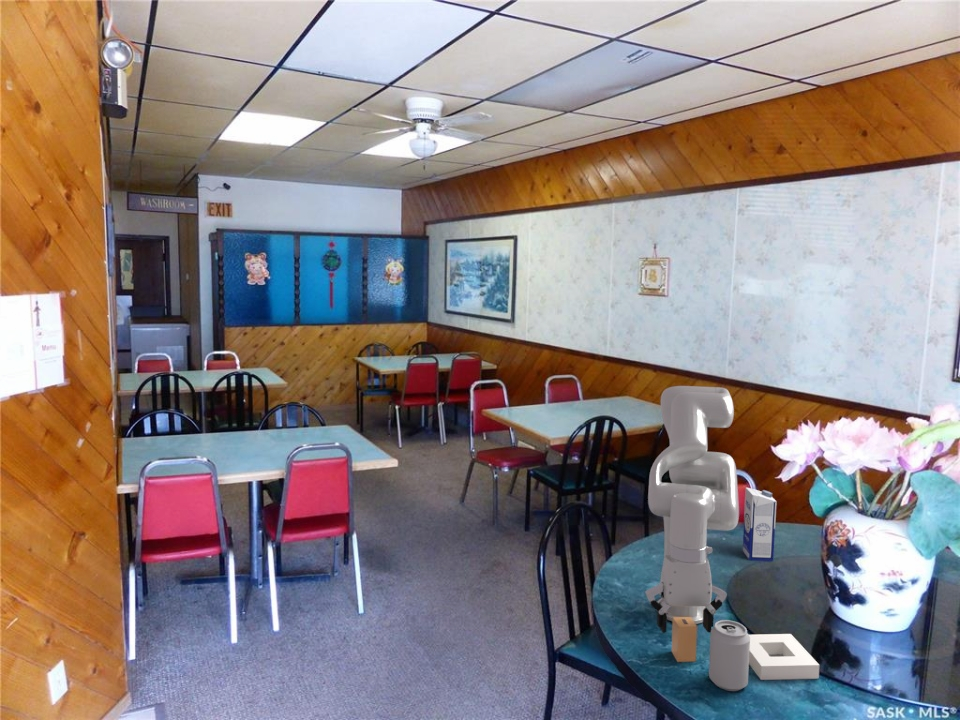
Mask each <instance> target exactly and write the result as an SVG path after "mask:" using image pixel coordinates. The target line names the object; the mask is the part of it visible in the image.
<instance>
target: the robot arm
mask: <svg viewBox="0 0 960 720" xmlns="http://www.w3.org/2000/svg"><path fill="white" fill-rule="evenodd" d="M734 408H735V407H734V402H733V399H732V396H731V394H730V392H729V390H728V389H727V388H725V387H721V386H720V387H719V386H699V385H698V386H696V385H692V386H691V385H677V386H675V385H674V386H670V387H667V388H665V389H664V390H663V392H662V393H661V396H660V412H661V413H660V414H661V417H662V421H663V426H664V428H665V430H666V432H667V436H668V439H669V446H668V447H666V448H665V449H664V450H663V451H661V453H660V454H659V455H658V456H657V457H656V458H655V460H654V462H653V463H652V466H651V467H650V472H649V478H648V495H647V499H648V500H647V504H648V508H649V510H650V513H652V514H653V515H655V516H657V517H663V527H664V529H663V531H664V532H663V533H664V534H663V535H664V541H663V542H664V544H663V545H664V546H663V547H664V548H663V551H664V552H663V562H662V567H661V573H660V582H659V584H656V585H655V586H653V587H650V588H648V589H647V590H645V592H644V593H645V597H646V598H647V600H648V602H649V604H650V605H651V606H652V608H653V609H654V610H655V611H656V625H657V628H659V629H660V630H661V632H662V634H666V632H667V627H668V626H667V622H668V621H670V622H671V623H673V617H691V618H692V619H693V621H694V622H695V624H696V625H698V624H701V623H702V627H703V628H704V630H705V631H706V632H707V633H711V629H712V628H713V627H714V615H715V614H716V613H717V611H718V610H719V609H720V608H721V607H722V606H723V602H725V600H726V598H727V596H728V593H727V592H726V591H725V590H724V589H722V588H720V587H718V586H717V585H714V584H713V583H712V573H711V566H710V562H709V558H708V555H709V554H713V552H714V550H713V547H712V546H708V545H707V541H708V540H707V537H708V536H707V535H708V530H716V531H731V530H734V529H736V527H737V525H738V523H739V519H740V518H739V517H740V506H739V505H740V504H739V491H738V489H739V488H738V474H737V473H738V471H737V466H736V465H737V464H736V463H735V460H734V459H733V457H732V456H731V455H730V454H727V453H724V452H719V451H718V452H717V451H708V428H719V429H720V428H721V429H726V428H727V429H728V428H729V427H731V425H732V423H733V420H734V416H735V414H734V413H735V412H734V411H735V410H734ZM667 472H668V473H669V478H670V481H671V482H662V477H663V476H664V474H665V473H667ZM713 594H716V597H715V598H714V599H712V598H713ZM657 595H659V596H660V598H659V599H658V600H656V599H655V596H657Z"/></svg>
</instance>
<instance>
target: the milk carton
mask: <svg viewBox="0 0 960 720" xmlns="http://www.w3.org/2000/svg"><path fill="white" fill-rule="evenodd" d="M744 492H745V495H744V513H743V514H744V515H743V517H744V518H743V533H742V534H743V535H742V552H743V554H744V555H745V556H746V558H747V559H748V561H754V562H774V555H775V535H776V533H775V532H776V518H777V500H776V499H775V498H774V497H773V492H770V491H768V490H765V489H762V491H760V490H759V489H758V490H757V489H755V488H750V487H746V486H745V491H744Z"/></svg>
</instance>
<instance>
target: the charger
mask: <svg viewBox="0 0 960 720" xmlns="http://www.w3.org/2000/svg"><path fill="white" fill-rule="evenodd" d="M671 625H672V629H671V653H672V655H673V657H674V658H675V660H676V662H677V663H680V662H681V663H686V662H687V663H688V662H689V663H690V662H691V663H692V662H695V663H696V661H697V660H696V659H697V641H698V624H695V622H694V621H693V619H692V618H691V617H673V622H672V624H671Z"/></svg>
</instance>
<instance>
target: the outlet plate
mask: <svg viewBox="0 0 960 720" xmlns="http://www.w3.org/2000/svg"><path fill="white" fill-rule="evenodd" d="M749 636H750V650H749V666H750V668H752V670H753V671H754V673H755V674H756V675H757V677H758V678H759V680H761V681H763V680H764V681H770V680H774V681H775V680H778V681H779V680H818V679H819V677H820V664H819V663H818V662H817V661H816V659H815V658H814V657H813V656H812V655H811V654H810V653H809V652H808V651H807V650H806V648H804V647H803V645H802V644H801V643H800V641H798V640H797V639H796V638H795V637H794V636H793V635H792V633H768V634H762V633H761V634H760V633H759V634H749Z"/></svg>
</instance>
